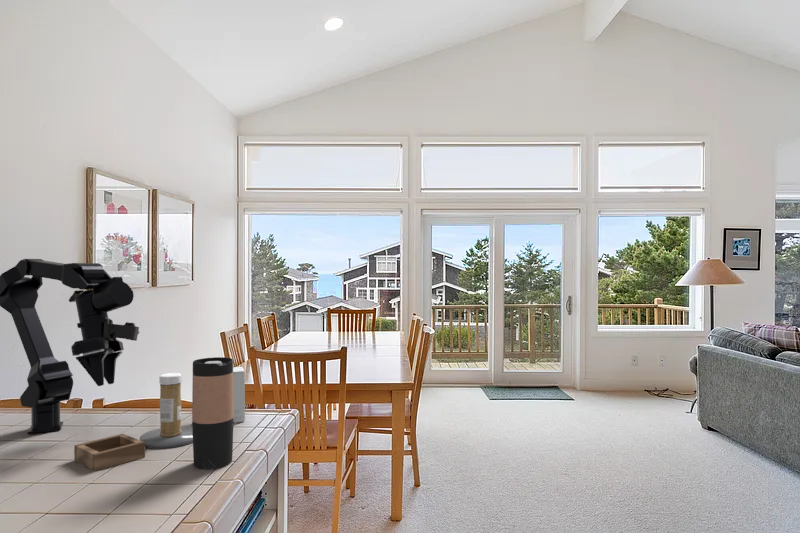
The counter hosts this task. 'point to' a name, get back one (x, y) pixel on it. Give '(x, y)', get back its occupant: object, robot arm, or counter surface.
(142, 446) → the walnut socket
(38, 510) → the counter surface
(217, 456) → the travel mug
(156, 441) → the slate plate
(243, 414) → the supplement box
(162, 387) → the sprinkles bottle
